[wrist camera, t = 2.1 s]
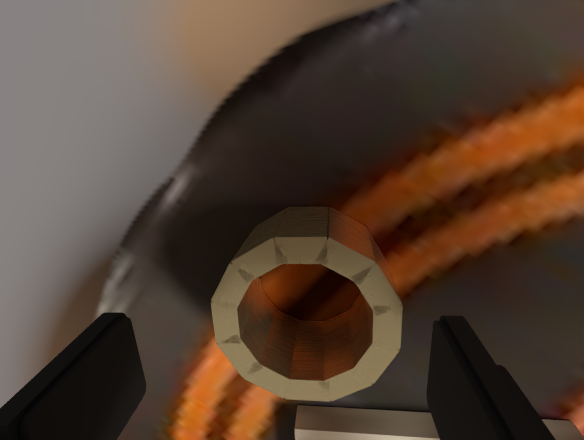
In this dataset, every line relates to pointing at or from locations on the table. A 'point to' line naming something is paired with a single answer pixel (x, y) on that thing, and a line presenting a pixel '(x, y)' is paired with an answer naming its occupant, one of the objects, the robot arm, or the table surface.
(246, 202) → the table surface
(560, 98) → the table surface
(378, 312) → the brass ring
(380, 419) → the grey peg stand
